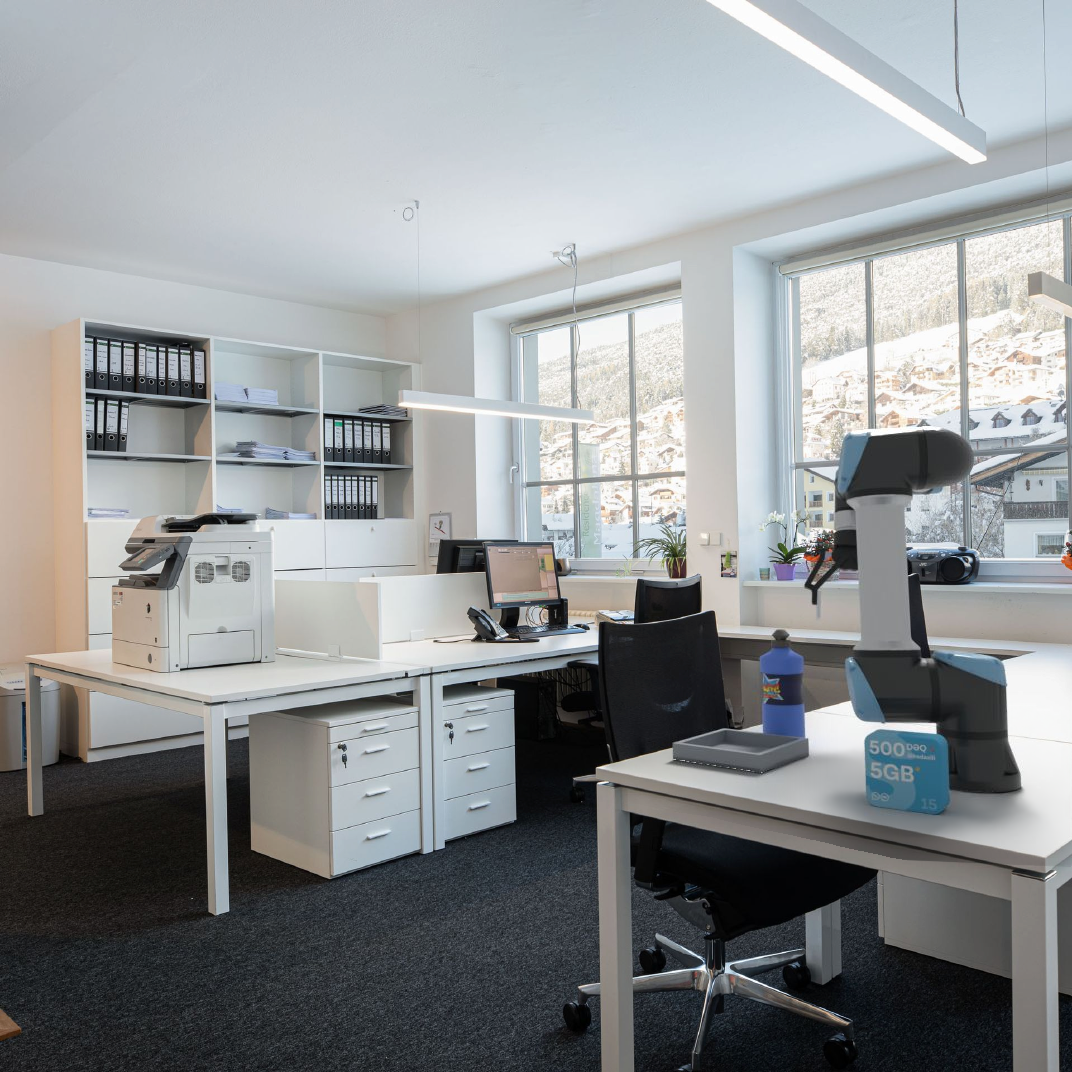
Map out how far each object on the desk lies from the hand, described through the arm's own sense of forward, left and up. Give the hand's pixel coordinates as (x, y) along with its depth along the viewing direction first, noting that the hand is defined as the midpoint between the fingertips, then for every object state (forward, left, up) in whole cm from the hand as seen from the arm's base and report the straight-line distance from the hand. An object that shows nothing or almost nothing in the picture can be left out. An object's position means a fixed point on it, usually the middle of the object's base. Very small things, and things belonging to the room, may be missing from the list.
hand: (848, 621), depth 214 cm
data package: (-64, -1, -26) cm, 69 cm away
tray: (-29, +25, -26) cm, 46 cm away
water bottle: (-13, +16, -26) cm, 33 cm away
